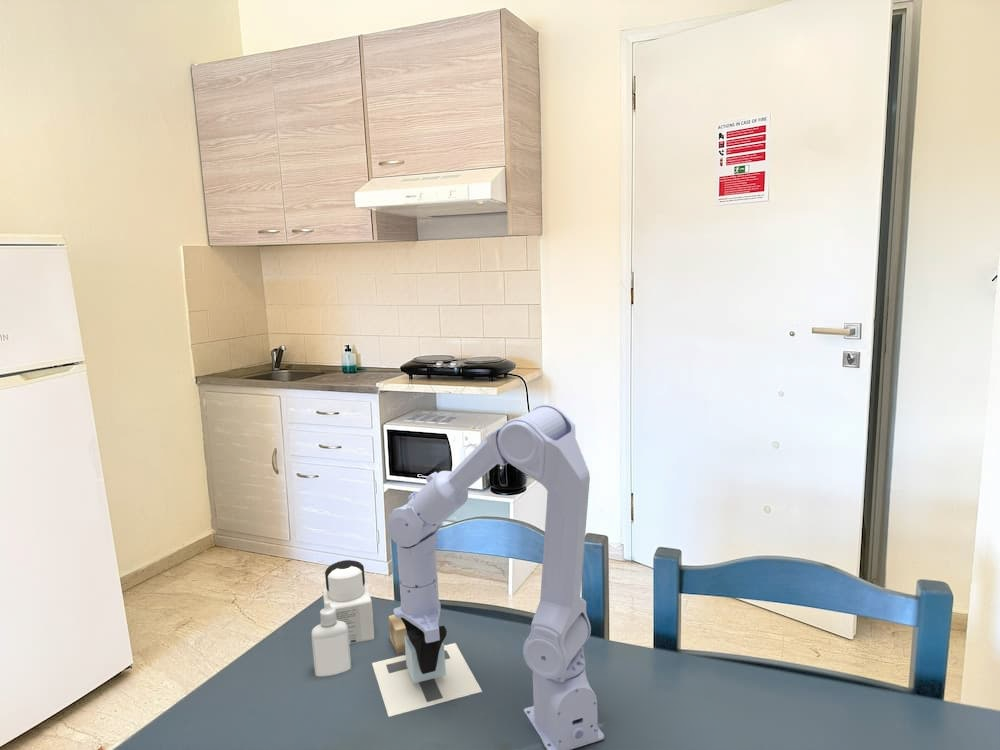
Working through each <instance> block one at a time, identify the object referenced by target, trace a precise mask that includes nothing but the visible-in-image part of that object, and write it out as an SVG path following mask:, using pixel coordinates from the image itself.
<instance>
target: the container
mask: <svg viewBox="0 0 1000 750" xmlns="http://www.w3.org/2000/svg"><path fill="white" fill-rule="evenodd" d="M324 577H325V586H326V588H323V590H322V594H323V595H322V596H323V598H322V599H323V606H324V605H325V602H326V601H329V602H330V606H331V607H334V608H335V609H336V618H337V620H338V621H343V622H345V623H346V624H347V627H348V635H349V645H351V644H356V643H359V642H360V643H361V642H364V641H365V642H366V641H371V640H374V639H375V627H374V616H373V603H372V597H371V594H370V593H371V592H370V590H369V586H368V582H367V581H366V579H365V567H364V565H363V564H362V562H359V561H357V560H351V559H346V560H339V561H337V562H335V563H332V564H330V565H329V566H328V567H327V568H326V569H325V571H324Z"/></svg>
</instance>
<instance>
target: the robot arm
mask: <svg viewBox="0 0 1000 750" xmlns="http://www.w3.org/2000/svg"><path fill="white" fill-rule="evenodd" d="M508 464H510V465H511V466H513V467H515V468H516V469H517V470H519V471H520V472H521V473H523V474H525V475H526V476H528V477H530V478H531V479H533V480H534V481H536V482H537V483H539V484H541V485H542V486H543V487H544V488H545V490H546V491H547V492H546V493H547V494H546V511H545V525H544V539H543V540H544V541H543V555H542V565H541V566H542V569H541V585H540V597H539V599H540V600H539V602H538V605H537V608H536V610H535V613H534V615H533V617H532V621H531V625H530V626H531V627H530V633H529V635H528V637H527V638H526V640H525V641H524V642H523V646H522V654H523V658H524V661H525V663H526V665H527V666H528V668H529V669H530V670H531V671H532V690H533V691H532V693H533V694H532V695H533V697H532V698H533V705H532V706H528V707H525V708H523V712H524V713H525V715H526V716H527V717H528V719H529V721H530V723H531V724H532V726H533V727H534V729H535V731H536V732H537V734H538V736H539V737H540V739H541V740H542V741H541V743H542V744H543V746H544V748H545V749H546V750H573V749H577V748H581V747H584V746H587V745H589V744H593V743H597V742H600V741H602V740H604V739H605V734H604V733H603V732H602V730H601V729H600V727H599V725H598V723H599V722H598V698H597V695H596V693H595V691H594V690H593V689H592V687H591V686H590V683H589V681H588V677H587V674H586V658H585V653H584V644H585V643H587V641H589V638H590V636H591V633H592V632H591V631H592V626H591V625H592V624H591V623H590V620H589V617H588V613H587V601H586V600H585V599H584V598H582V597H581V591H582V577H583V568H584V566H583V564H584V554H585V543H586V530H587V529H586V527H587V516H588V506H589V505H588V504H589V496H590V495H589V491H590V480H591V475H590V471H589V469H588V465H587V463H586V461H585V458H584V456H583V452H582V451H581V448H580V446H579V443H578V441H577V437H576V424H574V422H573V421H572V420H571V419H570V418H569V417H568V416H567V415H566V414H565V413H564V412H563V411H562V410H561V409H560V408H558V407H556V406H554V405H552V404H542V405H541V404H540V405H538V406H536V407H534V408H533V409H532V410H531V411H529V412H527V413H525V414H522V415H520V416H518V417H516V418H512V419H509V420H507V421H506V422H504V423H503V424H502V426H501V427H500V428H497V429H496V430H494V431H493V432H491V433H490V434H488V435H487V436H486V437H485V438H484V439H483V440H481V442H480V443H479V444H478V445H477V446H476V447H475V448H474V449H473V450H472V451H471V452H470V453H469V454H468V455H467V456H466V457H465V458H464V459H463V460H462V461H461V462H460V464H458V465H457V466H456V467H455V469H454V470H452V471H451V470H441V471H439V472H437V471H434V472H433V473H431V474H429V475H428V476H427V477H426V478H425V480H426V482H427V483H426V484H425V485H424V486H422V488H420V489H419V490H418V492H417V491H414V492H412V493H411V494H410V495H408V497H407V499H408V502H407V503H406V504H403V506H400V507H397V508H394V509H393V510H392V511H391V513H390V514H389V516H388V518H387V523H386V528H387V531H388V534H389V537H390V539H391V540H392V541H393V542H394V543H395V544H396V552H397V554H396V555H397V564H398V565H397V567H398V579H399V580H398V581H399V592H400V593H399V594H400V606H399V607H395V608H393V615H394V616H395V617H396V618H401V620H402V621H403V623H404V625H405V627H406V631H407V635H408V637H409V640H410V641H411V643H412V644H413V646H414V648H415V651H416V654H417V659H418V663H419V667H420V670H421V672H422V674H426V673H430V672H434V671H435V670H436V666H437V661H438V655H439V650H440V647H441V644H442V642H443V643H444V640H445V638H446V637H447V633H448V632H447V628H446V627H445V625H440V626H439V621H440V616H441V615H440V613H441V607H442V606H441V602H440V600H439V599H440V598H439V595H440V594H439V584H438V583H439V580H438V568H437V567H438V566H437V550H436V549H437V548H436V546H437V545H436V542H437V540H438V537H437V536H438V535H437V533H438V531H439V530H440V528H441V527H442V524H443V523H444V522H445V521H446V520H448V518H450V517H451V516H452V515H453V514H454V513H455V512H457V511H458V510H459V509H460V508H461V507H463V506H464V505H465V504H466V503H467V501H468V497H469V491H468V490H469V489H468V488H470V487H472V485H474V484H475V483H476V482H477V481H479V480H480V479H481V478H482V477H483V476H484V475H486V474H487V473H488V472H489V471H491V470H492V469H493V468H494V467H496V466H497V465H499V466H502V467H504V466H506V465H508ZM528 712H529V713H528Z"/></svg>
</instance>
